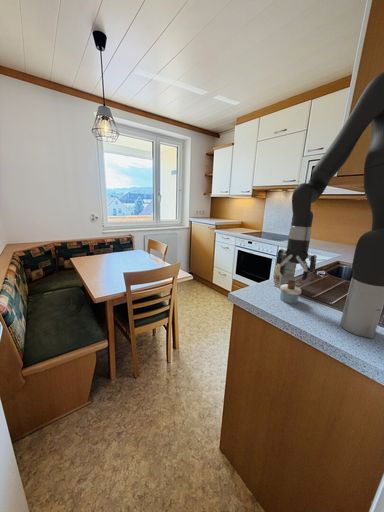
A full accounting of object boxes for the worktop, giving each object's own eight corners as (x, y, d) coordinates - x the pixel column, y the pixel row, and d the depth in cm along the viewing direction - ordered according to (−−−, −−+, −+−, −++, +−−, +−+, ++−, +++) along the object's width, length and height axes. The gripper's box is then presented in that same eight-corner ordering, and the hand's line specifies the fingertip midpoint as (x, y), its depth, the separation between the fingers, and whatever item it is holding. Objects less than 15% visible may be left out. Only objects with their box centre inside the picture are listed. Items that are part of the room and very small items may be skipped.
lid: (304, 291, 88) (306, 281, 87) (296, 296, 83) (298, 285, 82) (285, 285, 94) (286, 275, 92) (276, 289, 88) (278, 279, 87)
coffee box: (272, 281, 110) (277, 251, 105) (285, 281, 110) (290, 251, 105) (279, 288, 101) (284, 256, 96) (292, 289, 101) (298, 256, 96)
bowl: (299, 300, 89) (301, 291, 88) (292, 305, 85) (294, 295, 84) (284, 295, 94) (286, 285, 93) (277, 299, 90) (278, 289, 89)
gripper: (322, 239, 80) (314, 279, 84) (285, 234, 90) (279, 270, 94) (316, 241, 75) (308, 284, 79) (277, 236, 85) (271, 274, 89)
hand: (292, 277), depth 86 cm, fingers open, 8 cm apart
